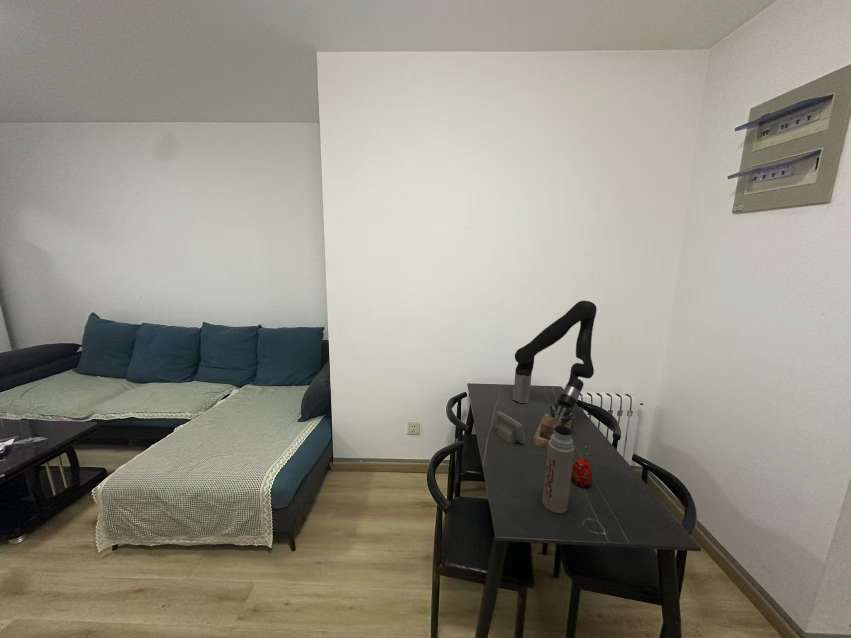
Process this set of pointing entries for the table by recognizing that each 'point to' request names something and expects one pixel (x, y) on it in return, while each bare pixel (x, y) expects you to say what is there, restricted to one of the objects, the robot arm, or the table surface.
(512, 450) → the table surface
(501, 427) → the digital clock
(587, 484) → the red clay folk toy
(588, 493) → the table surface
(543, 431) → the block
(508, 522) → the table surface
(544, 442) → the chute
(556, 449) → the thermos bottle
